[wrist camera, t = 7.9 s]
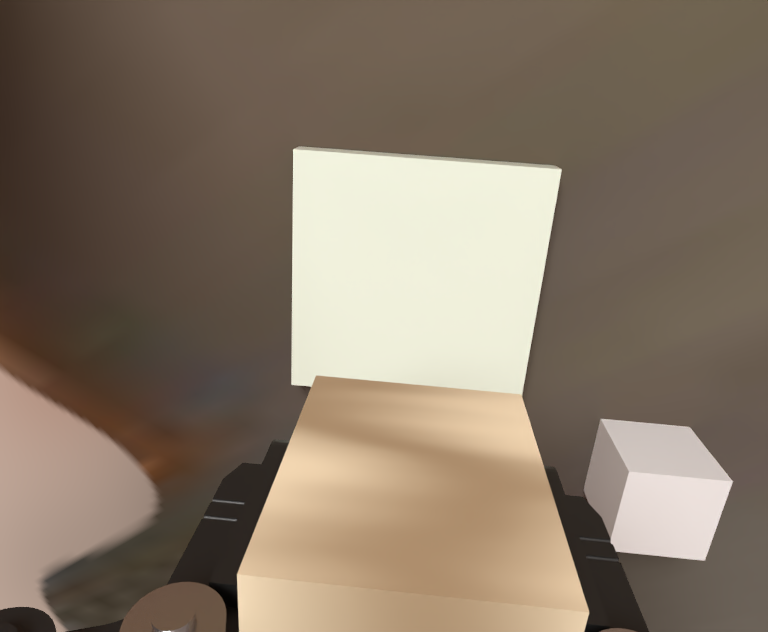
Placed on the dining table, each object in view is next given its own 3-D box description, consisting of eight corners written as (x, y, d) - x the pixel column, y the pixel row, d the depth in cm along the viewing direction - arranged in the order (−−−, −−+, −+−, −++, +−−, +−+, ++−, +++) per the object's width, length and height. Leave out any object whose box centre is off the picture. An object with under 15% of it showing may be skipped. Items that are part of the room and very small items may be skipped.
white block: (583, 489, 28) (607, 550, 24) (600, 417, 26) (628, 471, 22) (666, 497, 28) (704, 560, 24) (688, 426, 26) (732, 481, 22)
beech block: (312, 536, 13) (244, 793, 8) (316, 375, 11) (236, 574, 7) (493, 555, 12) (531, 827, 8) (521, 394, 11) (589, 613, 6)
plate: (297, 372, 26) (291, 384, 25) (299, 146, 23) (293, 149, 21) (516, 392, 26) (520, 405, 25) (554, 165, 22) (561, 169, 21)
